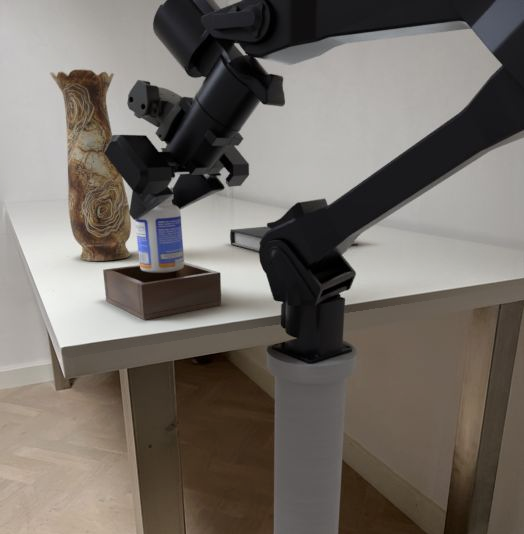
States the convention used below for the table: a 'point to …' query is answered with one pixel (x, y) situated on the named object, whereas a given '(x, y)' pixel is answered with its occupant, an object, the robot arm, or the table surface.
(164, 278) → the box
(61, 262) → the table surface
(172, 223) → the pill bottle
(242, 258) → the table surface
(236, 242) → the book
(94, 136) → the vase
